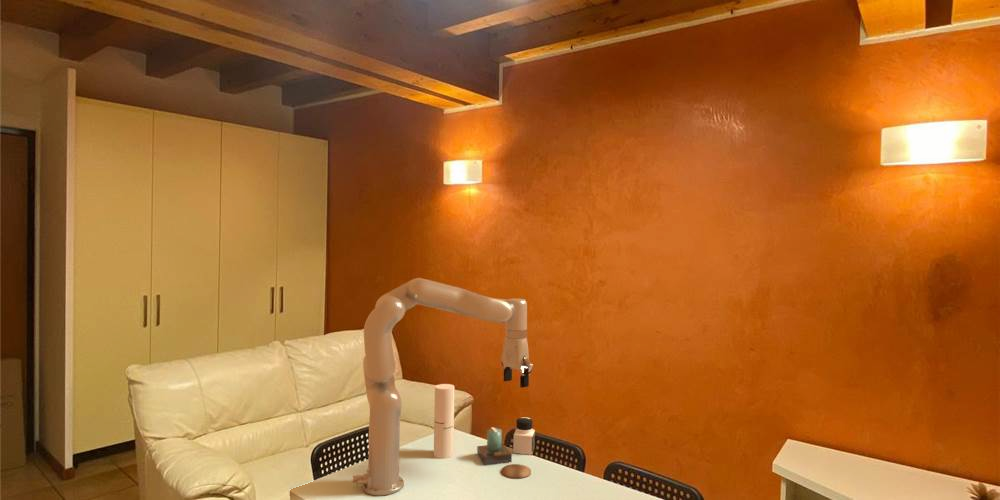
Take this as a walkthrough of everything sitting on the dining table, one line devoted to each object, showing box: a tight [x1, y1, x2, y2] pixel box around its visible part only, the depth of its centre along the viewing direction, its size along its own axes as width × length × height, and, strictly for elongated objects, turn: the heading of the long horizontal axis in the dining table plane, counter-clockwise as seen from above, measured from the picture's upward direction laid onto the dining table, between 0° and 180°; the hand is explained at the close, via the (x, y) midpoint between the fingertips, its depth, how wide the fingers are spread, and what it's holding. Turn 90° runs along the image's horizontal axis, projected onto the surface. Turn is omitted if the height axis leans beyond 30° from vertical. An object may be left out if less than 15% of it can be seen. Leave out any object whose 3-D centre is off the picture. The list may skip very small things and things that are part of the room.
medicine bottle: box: [512, 416, 536, 456], centre depth 189 cm, size 7×7×12 cm
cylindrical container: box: [433, 383, 455, 460], centre depth 184 cm, size 7×7×25 cm
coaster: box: [501, 463, 532, 480], centre depth 170 cm, size 10×10×1 cm
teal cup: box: [486, 426, 503, 453], centre depth 182 cm, size 5×5×7 cm
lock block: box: [476, 443, 513, 466], centre depth 182 cm, size 10×10×4 cm
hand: (515, 383), depth 174 cm, fingers open, 9 cm apart
